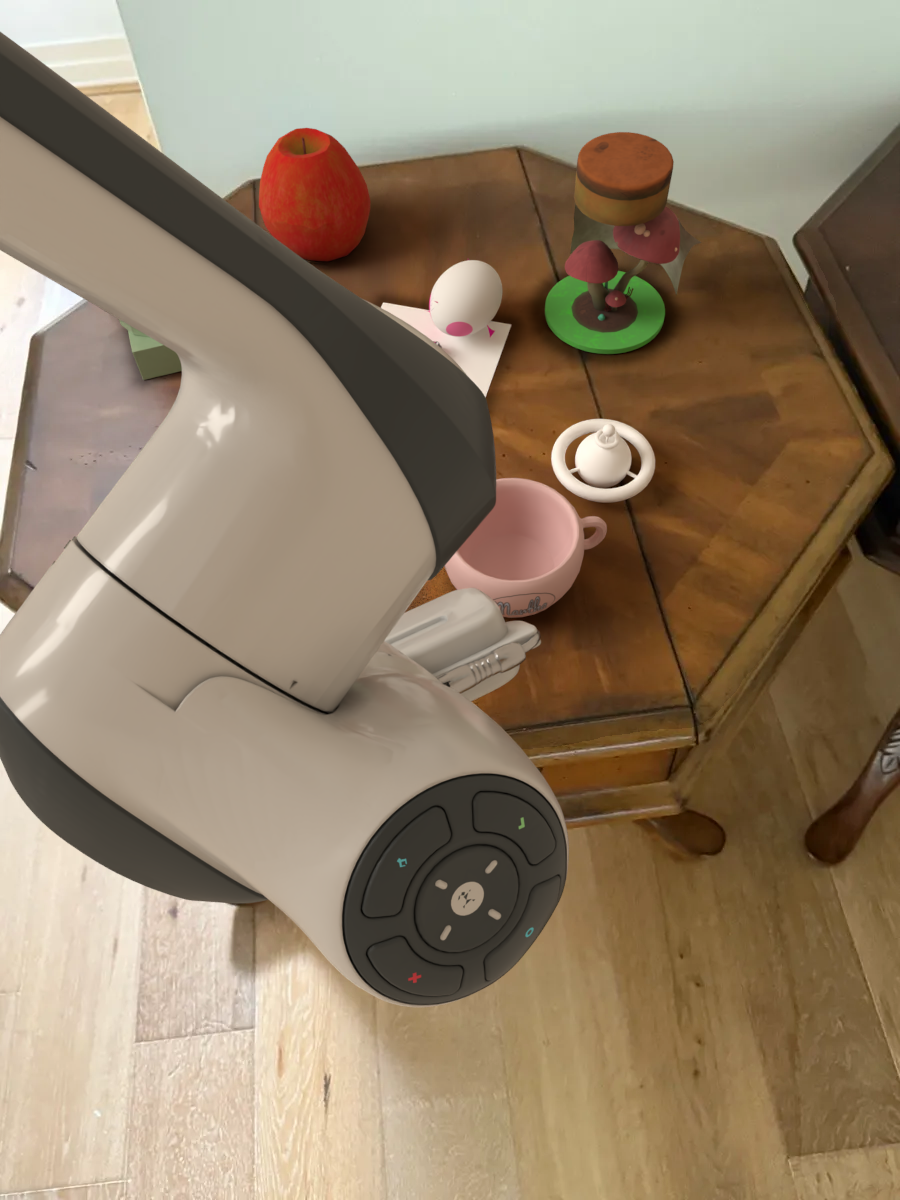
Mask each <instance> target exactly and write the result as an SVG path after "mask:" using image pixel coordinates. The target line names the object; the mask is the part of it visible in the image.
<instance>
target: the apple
mask: <svg viewBox="0 0 900 1200" xmlns="http://www.w3.org/2000/svg"><path fill="white" fill-rule="evenodd" d="M258 192H259V194H258V208H259V211H260V215H261V218H262V221H263V224H264V227H265V228H266V229H267V230H268V231H267V232H268V233H269V234H270V235H271V236H273V237H274V238H275V239H277V240H278V241H280V242H281V243H282V244H284V245H285V246H286V247H288V248H289V249H290V250H292V251H293V252H294V253H296V254H297V255H298V256H300V257H301V258H303V259H304V260H306V261H316V262H317V261H318V262H331V261H335V260H338V259H342V258H344V257H347V256H348V255H349V254H351V252H352V251H353V250H355V249H356V248H357V246H359V244H360V243H361V241H362V239H363V237H364V235H365V233H366V230H367V229H366V228H367V224H368V221H369V216H370V213H371V197H370V193H369V188H368V185H367V182H366V180H365V178H364V176H363V174H362V172H361V170H360V168H359V167H358V164H357V163H356V162H355V161H354V159H353V157H352V156H351V154H350V153H349V152H348V150H347V149H346V147H344V145H343V144H342V143H340V142H339V141H338V139H337V138H335V137H334V136H332V135H331V134H329V133H326V132H324V131H321V130H319V129H317V128H312V127H300V128H295V129H293V130H291V131H289V132H286V133H285V134H283V135H282V136H280V137H279V138H278V139H277V141H276V142H275V143H274V144H273V146H272V148H271V149H270V151H269V152H268V154H267V155H266V158H265V161H264V163H263V167H262V171H261V176H260V179H259V191H258Z"/></svg>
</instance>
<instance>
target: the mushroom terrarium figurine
mask: <svg viewBox="0 0 900 1200" xmlns="http://www.w3.org/2000/svg"><path fill="white" fill-rule="evenodd" d="M674 163H675V162H674V158H673V155H672V153H671V152H670V149H669V148H668V147H667V146H666V145H664V144H663V143H662V142H660V141H659V140H658V139H656V138H653V137H651V136H649V135H645V134H642V133H639V132H631V131H616V132H608V133H605V134H601V135H599V136H598V135H597V136H596V137H594V138H592V139H591V140H588V141H587V142H586V143H585V144H584V145H583V146H582V147H581V149H580V151H579V152H578V155H577V160H576V170H575V171H576V172H575V180H574V190H573V191H574V192H573V198H574V199H573V200H574V212H573V233H572V238H571V243H570V255H569V257H568V258H567V259H566V261H565V262H564V271H565V273H566V274H567V275H568V276H566V277H563V278H562V279H561V280H560V281H558V282H556V284H554V286H552V288H551V289H550V290H549V292H548V294H547V296H546V298H545V301H544V302H545V304H544V317H545V321H546V323H547V325H548V327H549V329H550V330H551V331H552V333H553V334H554V335H555V336H556V337H557V338H558V339H560V340H561V341H562V342H564V343H565V344H567V345H569V346H570V347H573V348H575V349H578V350H581V351H584V352H587V353H592V354H598V355H614V354H616V355H617V354H622V353H627V352H632V351H634V350H637V349H640V348H642V347H644V346H646V345H648V343H650V342H651V341H652V340H654V339H655V338H656V337H657V335H658V334H659V333H660V332H661V329H662V327H663V325H664V321H665V317H666V308H665V307H666V306H665V302H664V301H663V298H662V296H661V295H660V293H659V292H658V291H657V290H656V288H654V286H653V285H651V284H650V283H649V282H648V281H646V280H644V279H643V278H641V277H639V276H637V275H639V274H640V273H641V272H643V271H644V270H645V268H646V267H647V266H648V263H649V264H654V265H660V266H661V267H662V269H664V271H665V272H666V274H667V276H668V278H669V279H670V282H671V284H672V287H673V290H674V292H675V296H677V295H678V289H679V286H680V280H681V275H682V271H683V267H684V264H685V260H686V258H687V256H688V254H689V253H690V251H691V249H692V248H693V247H694V246H696V245H699V244H701V243H702V241H700V240H699V239H698V238H696V237H695V236H693V235H692V234H691V233H689V231H687V230H686V229H685V227H684V225H683V224H682V223H681V220H680V219H679V218H678V216H677V215H676V214H675V212H674V211H673V210H672V209H671V208H669V207H668V206H667V203H668V199H669V198H668V197H669V192H670V188H671V181H672V177H673V170H674ZM612 250H619V251H621V252H622V253H624V254H626V255H627V256H630V257H632V258H635V259H638V260H639V262H638V263H637V265H636V266H635V267H633V268H630V269H629V270H628V271H626V272H625V271H621V270H619V262H618V260H617V258H616V256H615V254H614V252H613V251H612Z"/></svg>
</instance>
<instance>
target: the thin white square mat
mask: <svg viewBox="0 0 900 1200" xmlns="http://www.w3.org/2000/svg"><path fill="white" fill-rule="evenodd" d="M380 308H382V309H384V310H386V311H388V312H389V313H391V314H393V315H394V316H396V317H398V318H399V319H401V320H403V321H404V322H406V323H408V324H409V325H411V326H412V327H414V328H415V329H417V330H418V331H420V332H421V333H423V334H424V335H425V336H427V337H428V338H429V339H431V340H432V341H433V342H434V343H436V344H437V345H438V346H439V347H440V348H441V349H443V350H444V351H445V352H446V353H447V354H448V355H449V356H450V357H451V358H452V359H453V360H454V361H455V362H456V363H457V364H458V365H459V366H460V367H461V368H462V370H463V371H464V372H465V373H466V375H467V376H468V377H469V378H470V379H471V380H472V381H473V382H474V383H475V384H476V385H477V386H478V387H479V389H480V390H481V391H482V393H483V394H484V396H485V398H486V397H487V395H488V392H489V389H490V386H491V383H492V381H493V378H494V375H495V372H496V369H497V366H498V365H499V361H500V358H501V355H502V352H503V350H504V347H505V344H506V341H507V340H508V336H509V332H510V330H511V328H512V324H511V323H504V322H499V321H493V320H491V321H490V322H489V323H488V324H487V325H488V327H489V328H490V329H492V330H494V331H495V332H494V333H493V335H492V336H491V337H490V334H489V330H488V327H487V325H486V326H485V327H484V328H483V329H481V330H480V331H478V332H476V333H474V334H471V335H468V336H463V337H455V336H450V335H447V334H445V333H443V332H442V331H440V330H439V329H438V328H437V327H436V325H435V324H434V323H433V321H432V318H431V315H430V312H428V311H429V309H424V308H418V307H412V306H407V305H402V304H401V305H400V304H395V303H389V302H382V304H381V306H380ZM425 310H426V311H425Z"/></svg>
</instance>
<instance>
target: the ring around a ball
mask: <svg viewBox="0 0 900 1200" xmlns="http://www.w3.org/2000/svg"><path fill="white" fill-rule="evenodd" d="M588 434H589V435H588ZM584 435H587V436H586V437H585V438H583V440H582V441H581V442H580V444H579V445H578V447H577V449H576V452H575V457H574V464H575V468H572V469H569V468H568V466H567V464H566V453H567V450H568V448H569V446H570V445H571V444H572V443H573V442H574V441H575V440H577V439H578V438H580V437H582V436H584ZM626 441H628V442H629V443H630V444H631V445H632V446H633V447H634V448H635V449H636V451H637V453H638V455H639V457H640V462H641V465H640V470H639V472H638V474H636V473H634V472H632V471H630V469H631V466H632V452H631V449H630V447H629V445H628V443H627V442H626ZM550 459H551V467H552V470H553V473H554V474H555V477H556V478H557V480H558V481H559V483H560V484H561V485H562V486H563V487H564V488H565V489H566V490H567V491H569V492H570V493H572V494H574V495H575V496H577V497H578V498H579V497H580V498H581V499H584V500H586V501H591V502H595V503H603V504H605V503H607V504H608V503H609V504H610V503H618V502H622V501H626V500H628V499H631V498H633V497H635V496H637V495H638V494H639V493H641V492H642V491H644V489H645V488H646V487H648V485H649V484H650V483H651V480H652V479H653V476H654V474H655V470H656V456H655V452H654V450H653V447H652V445H651V444H650V442H649V441H648V439H647V438H646V437H645V436H644V435H643V434H642V433H641V432H640V431H639V430H637V429H636V428H635V427H633V426H631V425H629V424H627V423H624V422H622V421H618V420H614V419H609V418H608V419H607V418H591V419H586V420H582V421H579V422H577V423H574V424H572V425H570V426H569V427H567V428H565V430H564V431H563V432H561V434H560V435H559V436H558V437H557V439H556V440H555V442H554V444H553V446H552V449H551V455H550ZM574 473H578V475H579V477H580V478H581V479H582V480H583V482H582V481H580V480H579V479H578V478H576V477H575V476H574V475H573V474H574ZM626 476H629V477H631V478H633V479H632V480H631V481H629V482H628V483H626V484H624V485H622V486H618V487H614V486H616V485H618V484H619V483H621V481H623V480H624V479H625V478H626ZM584 482H585V483H584ZM611 487H612V488H611Z"/></svg>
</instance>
